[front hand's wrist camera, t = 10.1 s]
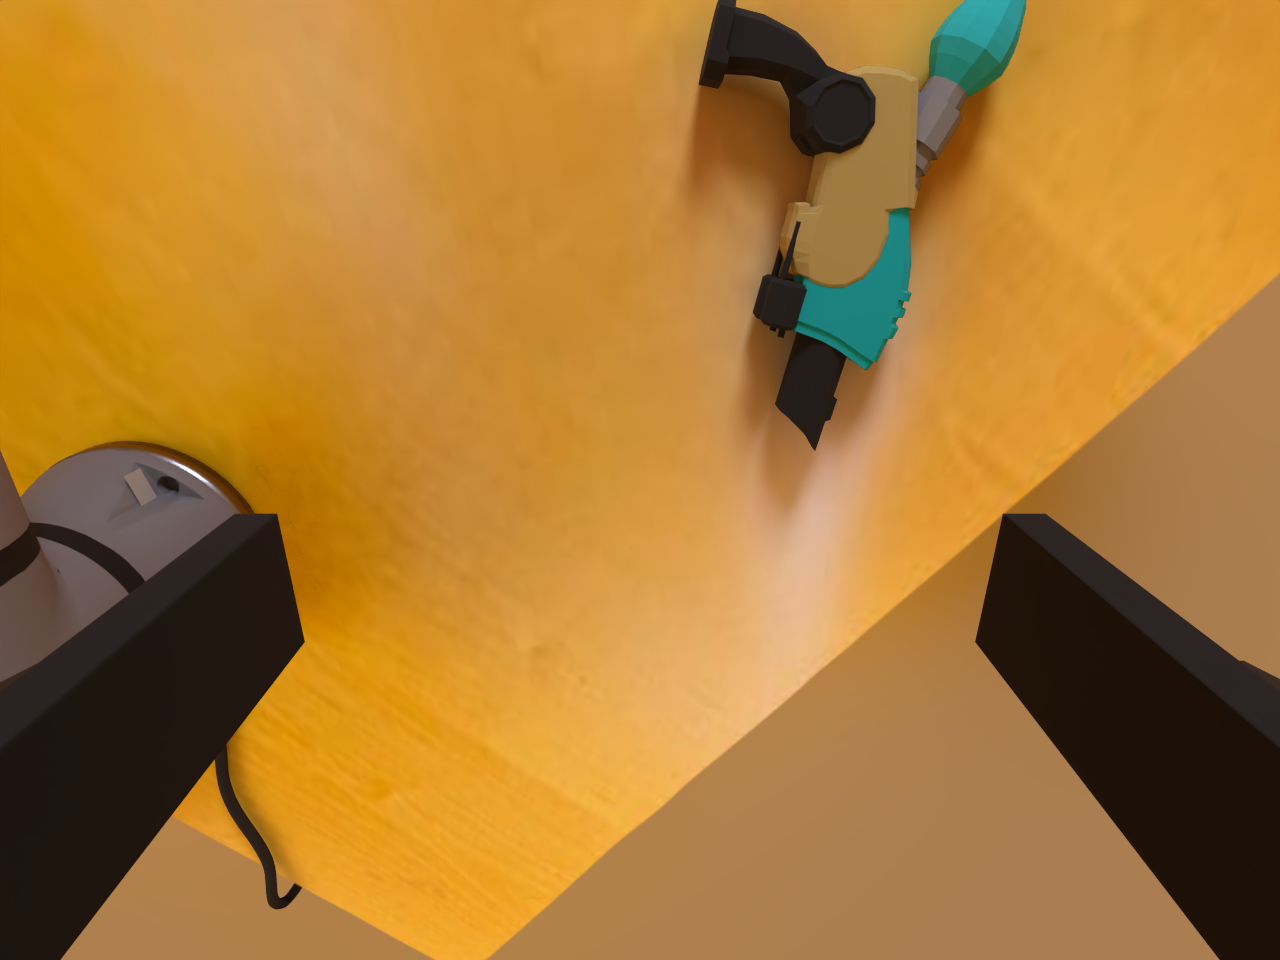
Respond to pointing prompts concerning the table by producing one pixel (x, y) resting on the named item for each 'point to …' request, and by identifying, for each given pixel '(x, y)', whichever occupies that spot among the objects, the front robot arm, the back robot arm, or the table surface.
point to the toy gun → (853, 182)
